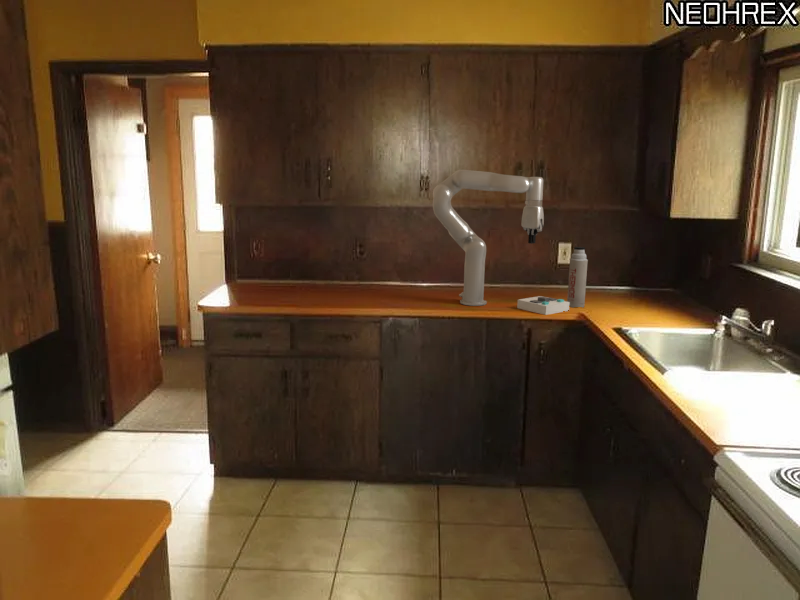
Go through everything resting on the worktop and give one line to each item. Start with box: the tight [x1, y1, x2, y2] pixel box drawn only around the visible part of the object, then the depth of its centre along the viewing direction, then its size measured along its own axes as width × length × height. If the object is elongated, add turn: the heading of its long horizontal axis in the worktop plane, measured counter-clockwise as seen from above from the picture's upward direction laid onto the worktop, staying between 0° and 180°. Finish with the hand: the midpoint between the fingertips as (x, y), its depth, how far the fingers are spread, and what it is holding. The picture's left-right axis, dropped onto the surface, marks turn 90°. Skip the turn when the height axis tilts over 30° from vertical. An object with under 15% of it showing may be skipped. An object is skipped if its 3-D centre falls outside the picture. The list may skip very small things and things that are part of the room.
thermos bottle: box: [566, 246, 589, 308], centre depth 309 cm, size 8×8×28 cm
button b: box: [537, 296, 551, 302], centre depth 303 cm, size 4×3×4 cm
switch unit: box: [516, 295, 570, 316], centre depth 303 cm, size 17×16×5 cm
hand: (531, 243), depth 310 cm, fingers closed
